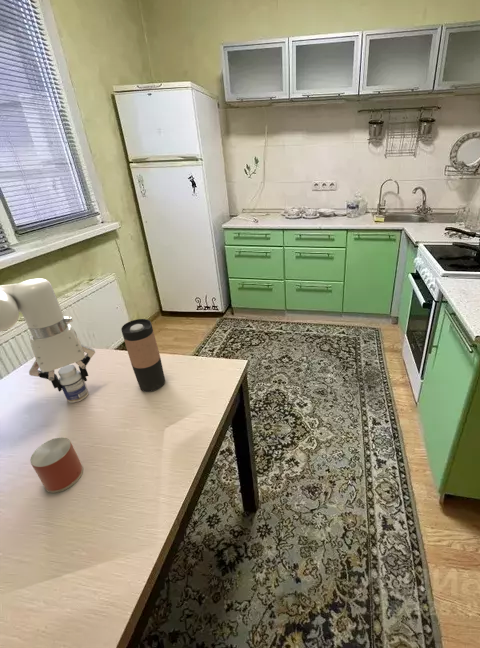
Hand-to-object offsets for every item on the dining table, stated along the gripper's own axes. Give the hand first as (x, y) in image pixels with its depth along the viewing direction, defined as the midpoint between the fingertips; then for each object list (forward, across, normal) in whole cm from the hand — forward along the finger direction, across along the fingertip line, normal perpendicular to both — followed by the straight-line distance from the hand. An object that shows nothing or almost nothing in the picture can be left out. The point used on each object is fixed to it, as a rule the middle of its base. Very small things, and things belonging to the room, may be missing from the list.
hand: (72, 382), depth 89 cm
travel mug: (+5, -18, +8) cm, 21 cm away
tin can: (+5, +6, +26) cm, 28 cm away
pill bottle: (+5, 0, 0) cm, 5 cm away
